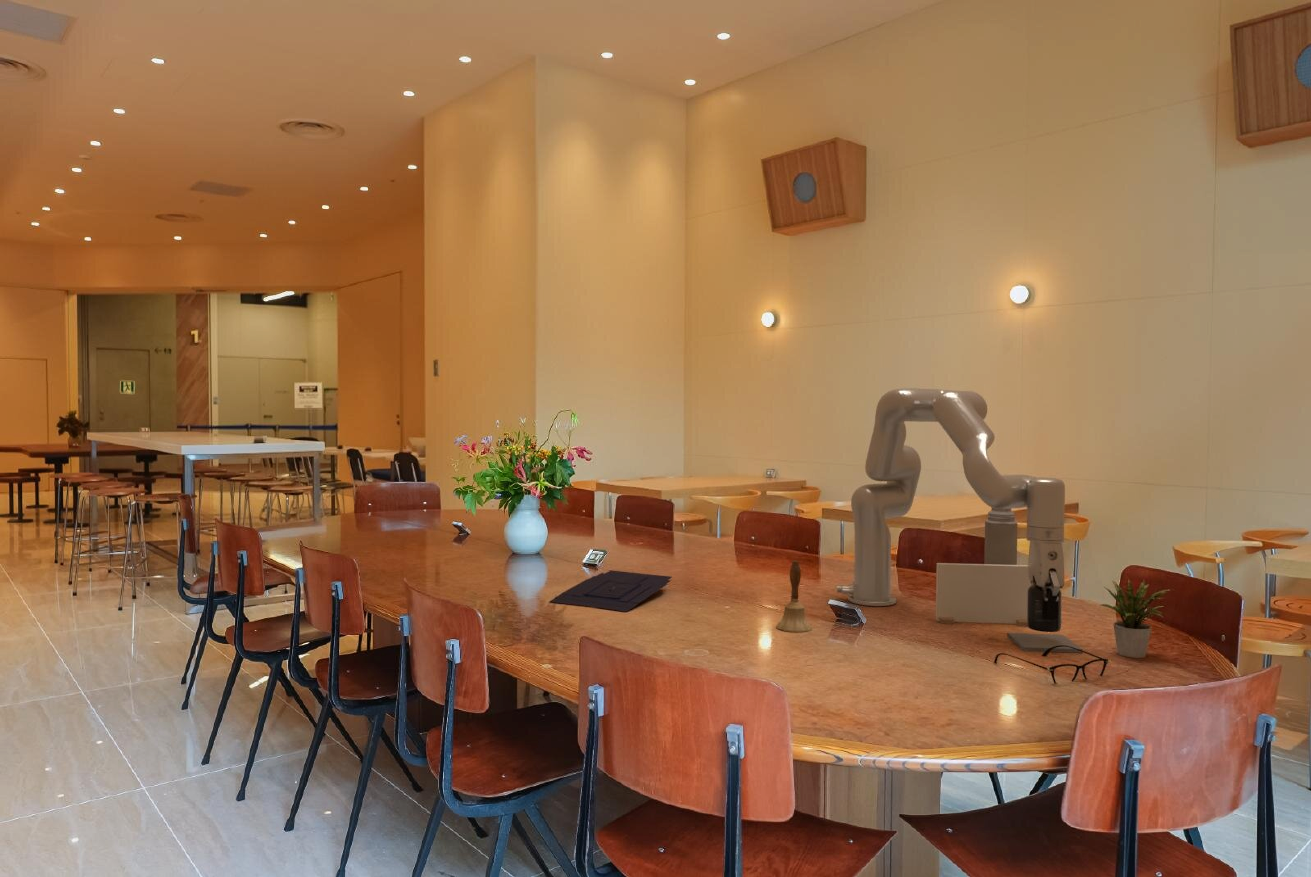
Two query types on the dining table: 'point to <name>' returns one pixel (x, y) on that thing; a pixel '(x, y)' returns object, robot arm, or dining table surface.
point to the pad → (1043, 642)
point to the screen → (982, 593)
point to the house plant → (1133, 620)
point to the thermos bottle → (1001, 537)
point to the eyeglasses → (1064, 664)
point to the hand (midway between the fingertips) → (1043, 614)
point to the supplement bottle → (1040, 610)
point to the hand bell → (794, 606)
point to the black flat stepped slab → (613, 590)
